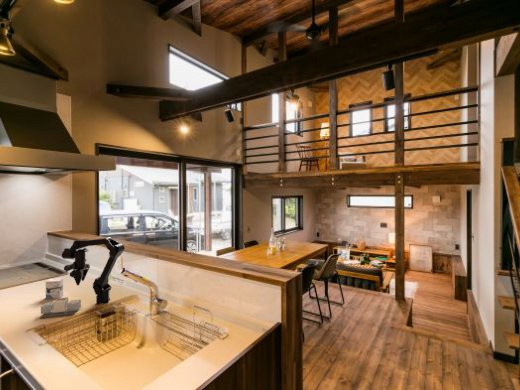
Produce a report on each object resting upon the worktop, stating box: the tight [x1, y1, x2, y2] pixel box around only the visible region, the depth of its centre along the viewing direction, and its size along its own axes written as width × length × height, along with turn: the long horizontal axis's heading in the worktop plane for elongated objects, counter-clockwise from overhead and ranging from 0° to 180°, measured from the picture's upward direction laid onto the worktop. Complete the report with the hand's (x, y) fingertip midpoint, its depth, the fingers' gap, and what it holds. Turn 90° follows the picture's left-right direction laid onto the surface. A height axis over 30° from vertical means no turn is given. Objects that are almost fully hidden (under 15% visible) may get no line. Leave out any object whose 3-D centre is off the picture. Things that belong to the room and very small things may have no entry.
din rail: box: [40, 298, 82, 320], centre depth 159 cm, size 18×12×6 cm, turn 106°
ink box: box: [45, 277, 64, 300], centre depth 182 cm, size 8×5×12 cm, turn 105°
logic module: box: [53, 296, 69, 312], centre depth 159 cm, size 5×6×6 cm
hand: (80, 283), depth 175 cm, fingers open, 9 cm apart
